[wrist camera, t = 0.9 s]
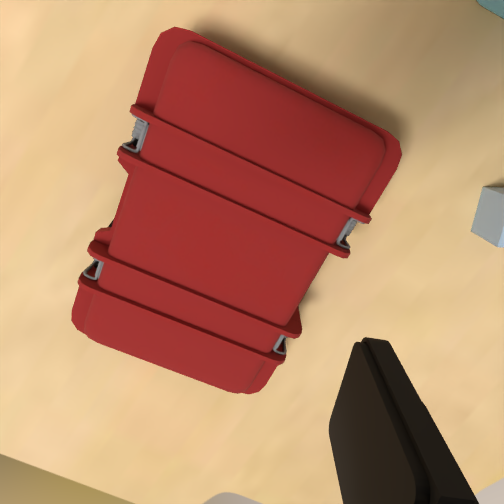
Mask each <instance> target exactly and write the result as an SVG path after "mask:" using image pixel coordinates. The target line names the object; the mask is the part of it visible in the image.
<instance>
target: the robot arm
mask: <svg viewBox="0 0 504 504" xmlns="http://www.w3.org/2000/svg"><path fill="white" fill-rule="evenodd" d="M329 437H330V441H331V446H332V451H333V456H334V461H335V466H336V471H337V475H338V480H339V485H340V490H341V495H342V500H343V504H479V503H478V501H477V499H476V497H475V495H474V493H473V492H472V490H471V488H470V486H469V484H468V482H467V481H466V479H465V477H464V475H463V473H462V472H461V470H460V468H459V466H458V464H457V462H456V461H455V459H454V457H453V455H452V453H451V452H450V450H449V448H448V446H447V444H446V442H445V441H444V439H443V437H442V435H441V433H440V432H439V430H438V428H437V426H436V424H435V422H434V421H433V419H432V417H431V415H430V413H429V412H428V410H427V408H426V406H425V405H424V404H423V402H422V401H421V399H420V398H419V396H418V394H417V392H416V390H415V388H414V387H413V385H412V383H411V381H410V379H409V377H408V376H407V374H406V372H405V370H404V368H403V366H402V365H401V363H400V361H399V359H398V357H397V355H396V354H395V352H394V350H393V348H392V346H391V344H390V343H389V342H388V341H386V340H380V339H374V338H367V337H365V338H363V339H362V341H361V342H356V343H355V344H354V346H353V349H352V352H351V355H350V358H349V361H348V365H347V368H346V371H345V374H344V377H343V380H342V384H341V387H340V390H339V393H338V396H337V399H336V402H335V406H334V409H333V412H332V415H331V418H330V422H329Z"/></svg>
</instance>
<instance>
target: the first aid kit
mask: <svg viewBox="0 0 504 504" xmlns="http://www.w3.org/2000/svg"><path fill="white" fill-rule="evenodd" d="M130 112H131V113H132V115H133V116H134V117H135V118H137V121H136V122H135V126H134V130H133V131H132V132H133V133H132V137H133V139H132V140H131V141H130V142H127V143H123V144H122V146H120V147H119V148H118V151H117V155H118V156H119V159H118V161H119V163H120V164H121V165H122V166H123V168H124V169H125V170H126V171H127V173H128V174H129V175H128V178H127V181H126V184H125V187H124V190H123V193H122V196H121V200H120V203H119V206H118V209H117V212H116V215H115V218H114V220H113V221H112V222H111V224H110V225H109V226H108V227H107V228H101V229H99V230H98V231H97V232H96V233H95V237H94V240H93V241H92V242H91V243H90V245H89V247H88V250H87V251H88V253H89V254H90V256H92V257H93V259H94V261H93V263H92V264H91V265H90V266H89V267H87V268H86V269H85V270H84V271H83V272H82V273H81V275H80V277H79V280H78V284H79V289H78V292H77V295H76V298H75V302H74V305H73V308H72V320H71V321H72V322H73V324H74V325H75V327H76V328H77V330H79V331H81V332H82V333H84V334H86V335H87V336H88V338H90V339H92V340H93V341H95V342H97V343H100V344H102V345H105V346H108V347H110V348H113V349H116V350H118V351H121V352H124V353H126V354H129V355H132V356H134V357H137V358H140V359H142V360H145V361H148V362H150V363H153V364H156V365H158V366H161V367H164V368H166V369H169V370H172V371H174V372H177V373H180V374H182V375H185V376H188V377H190V378H193V379H196V380H198V381H201V382H204V383H207V384H209V385H212V386H215V387H217V388H220V389H223V390H225V391H228V392H232V393H237V394H238V393H245V394H252V393H256V392H259V391H260V390H261V389H262V388H263V387H264V386H265V385H266V384H267V382H268V380H269V379H270V377H271V375H272V374H273V372H274V370H275V369H276V367H277V366H278V365H280V364H283V362H284V361H285V358H286V344H285V340H286V337H290V338H294V339H295V338H298V337H299V336H300V335H301V333H302V325H301V320H300V314H299V309H298V305H299V303H300V301H301V300H302V298H303V296H304V295H305V293H306V291H307V289H308V288H309V286H310V284H311V283H312V281H313V279H314V278H315V276H316V274H317V272H318V271H319V269H320V267H321V266H322V264H323V262H324V261H325V259H326V257H327V255H328V254H329V253H331V254H334V255H336V256H339V257H341V258H348V256H349V255H350V250H349V249H350V246H349V244H348V243H347V241H346V237H347V235H348V236H349V235H350V233H351V231H352V230H353V228H354V226H356V225H355V224H356V223H357V221H358V222H360V223H362V224H365V223H367V224H369V222H370V221H371V219H372V218H371V217H370V215H369V214H370V212H371V211H372V209H373V208H374V206H375V204H376V203H377V201H378V199H379V198H380V196H381V194H382V193H383V191H384V189H385V188H386V186H387V184H388V183H389V181H390V179H391V178H392V176H393V175H394V173H395V171H396V170H397V167H398V164H399V162H400V159H401V156H402V153H401V148H400V143H399V141H398V140H397V139H396V138H395V137H394V136H392V135H391V134H390V133H389V132H388V131H386V130H384V129H382V128H380V127H378V126H376V125H374V124H372V123H370V122H368V121H366V120H364V119H362V118H360V117H358V116H356V115H355V114H353V113H351V112H349V111H347V110H345V109H343V108H341V107H339V106H337V105H335V104H333V103H331V102H329V101H327V100H325V99H323V98H321V97H319V96H317V95H316V94H314V93H312V92H310V91H308V90H306V89H304V88H302V87H300V86H298V85H296V84H294V83H292V82H290V81H288V80H286V79H284V78H282V77H280V76H278V75H277V74H275V73H273V72H271V71H269V70H267V69H265V68H263V67H261V66H259V65H257V64H255V63H253V62H251V61H249V60H247V59H245V58H243V57H241V56H239V55H238V54H236V53H234V52H232V51H230V50H228V49H226V48H224V47H222V46H220V45H218V44H216V43H214V42H212V41H210V40H208V39H206V38H204V37H202V36H200V35H199V34H197V33H195V32H193V31H190V30H186V29H182V28H178V27H173V28H171V29H169V30H166V31H164V32H162V33H161V34H160V36H159V37H158V39H157V41H156V43H155V45H154V46H153V48H152V51H151V55H150V58H149V61H148V64H147V68H146V71H145V74H144V77H143V81H142V84H141V87H140V90H139V94H138V97H137V100H136V103H135V104H133V105H131V109H130Z"/></svg>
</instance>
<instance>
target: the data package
mask: <svg viewBox="0 0 504 504" xmlns="http://www.w3.org/2000/svg"><path fill="white" fill-rule="evenodd" d="M477 2H478V3H479V4H480V5H481V6H483V7H484V8H486V9H488V10H489V11H491V12H493V13H495V14H496V15H498V16H500V17H501V18H503V19H504V0H477Z"/></svg>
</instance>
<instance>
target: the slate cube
mask: <svg viewBox="0 0 504 504" xmlns="http://www.w3.org/2000/svg"><path fill="white" fill-rule="evenodd" d="M471 232H473V233H475V234H476V235H478V236H480V237H481V238H483V239H485V240H486V241H488V242H490V243H491V244H493V245H495V246H496V247H504V188H503V187H483V188H482V192H481V195H480V199H479V203H478V206H477V210H476V214H475V217H474V221H473V225H472V228H471Z"/></svg>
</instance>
